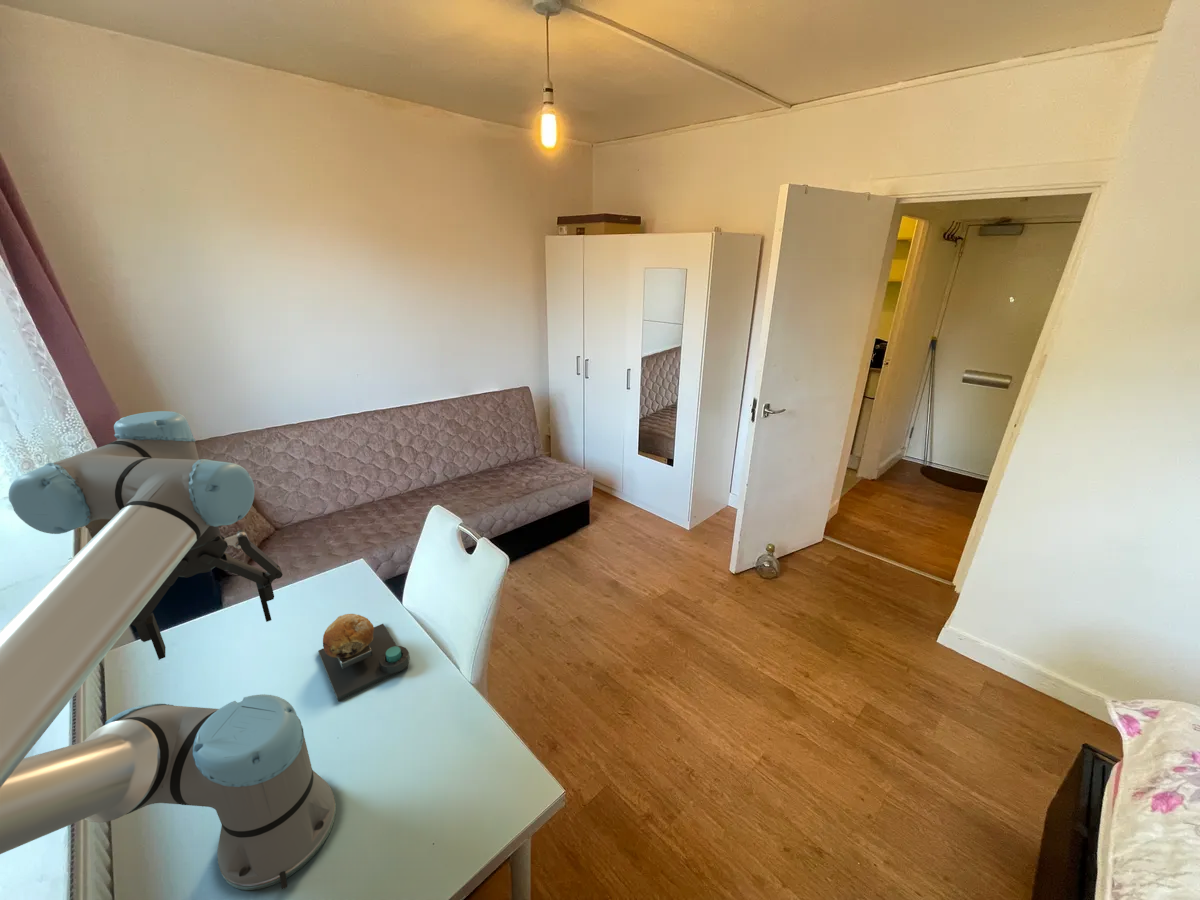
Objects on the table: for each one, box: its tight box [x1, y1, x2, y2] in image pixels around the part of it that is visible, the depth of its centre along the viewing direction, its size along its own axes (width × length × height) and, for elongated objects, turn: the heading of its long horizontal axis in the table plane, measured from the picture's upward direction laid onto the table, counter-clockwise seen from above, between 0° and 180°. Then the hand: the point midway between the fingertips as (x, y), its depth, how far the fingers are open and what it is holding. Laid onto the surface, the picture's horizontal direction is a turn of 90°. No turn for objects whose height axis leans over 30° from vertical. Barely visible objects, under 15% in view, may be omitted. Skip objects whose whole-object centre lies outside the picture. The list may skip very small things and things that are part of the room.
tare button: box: [386, 645, 401, 663], centre depth 105 cm, size 3×3×2 cm
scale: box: [318, 623, 411, 702], centre depth 107 cm, size 17×15×3 cm
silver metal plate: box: [338, 645, 372, 669], centre depth 107 cm, size 10×6×2 cm, turn 40°
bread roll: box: [322, 613, 375, 658], centre depth 106 cm, size 10×10×8 cm
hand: (217, 634), depth 78 cm, fingers open, 13 cm apart
